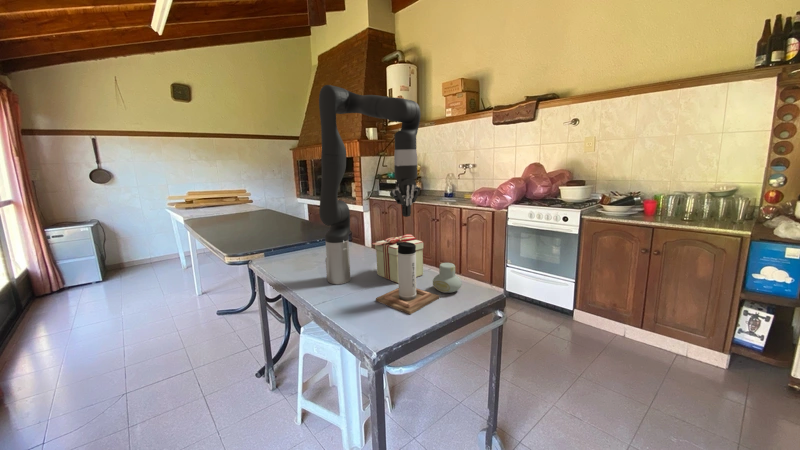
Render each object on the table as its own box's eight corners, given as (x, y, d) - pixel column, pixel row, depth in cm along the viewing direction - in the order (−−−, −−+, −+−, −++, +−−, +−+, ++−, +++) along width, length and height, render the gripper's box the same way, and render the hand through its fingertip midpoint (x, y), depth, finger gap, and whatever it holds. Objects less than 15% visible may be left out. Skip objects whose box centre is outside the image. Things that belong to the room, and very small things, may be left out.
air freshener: (429, 290, 123) (429, 265, 121) (440, 283, 129) (440, 259, 127) (454, 297, 116) (455, 270, 114) (465, 289, 123) (465, 264, 121)
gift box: (395, 265, 152) (395, 229, 149) (425, 274, 139) (425, 235, 136) (367, 274, 141) (366, 236, 137) (397, 286, 128) (396, 243, 124)
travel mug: (397, 293, 118) (395, 240, 114) (415, 292, 118) (414, 239, 114) (398, 301, 112) (397, 245, 108) (417, 300, 112) (417, 244, 108)
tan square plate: (375, 300, 115) (375, 295, 114) (405, 287, 126) (405, 282, 126) (410, 314, 104) (410, 308, 104) (439, 298, 116) (439, 292, 115)
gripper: (410, 163, 113) (410, 212, 116) (383, 164, 103) (384, 218, 107) (427, 163, 108) (427, 214, 111) (400, 164, 98) (401, 220, 102)
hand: (406, 216), depth 109 cm, fingers closed
